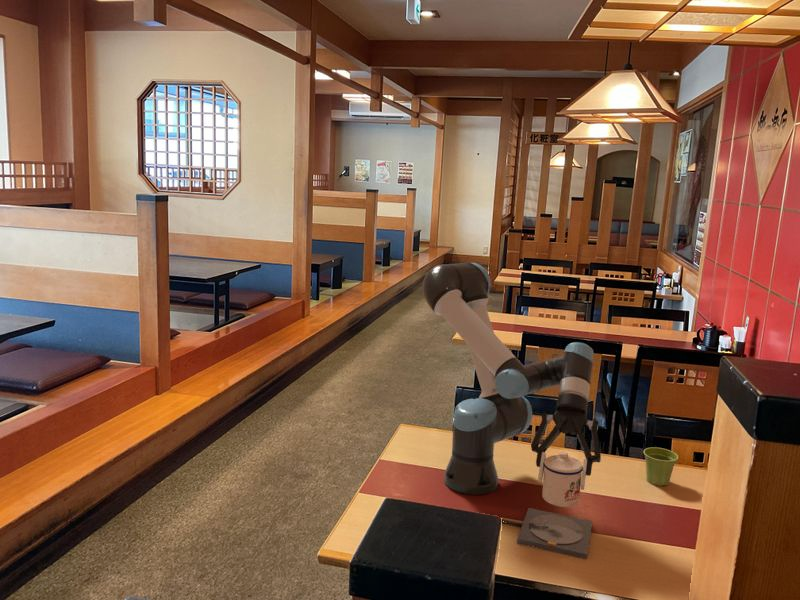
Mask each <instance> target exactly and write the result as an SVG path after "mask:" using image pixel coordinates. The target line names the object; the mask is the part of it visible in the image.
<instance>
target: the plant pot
mask: <svg viewBox="0 0 800 600" xmlns="http://www.w3.org/2000/svg"><path fill="white" fill-rule="evenodd" d="M642 454H643V455H644V458H645V471H646V475H645V477H646V480H647V482H649V483H650V484H652V485H653V486H659V487H661V486H668V485H669V484H670V480H671V477H672V474H673V470H674V466H675V464H676V463H677V461H678V460H679V455H678V454H677V453H676V452H674V451H672V450H670V449H667V448H662V447H657V446H654V447H647V448H645V449H644V450H643V453H642Z"/></svg>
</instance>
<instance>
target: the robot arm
mask: <svg viewBox="0 0 800 600" xmlns="http://www.w3.org/2000/svg"><path fill="white" fill-rule="evenodd" d="M424 275H425V276H424V278H423V280H422V293H423V296H424V299H425V301H426V303H427V305H428V306H429V307H430V309H431V310H432V312H434V313H435V314H436V315H437V316H442V317H443V318H444V319H445V320H446V322H447V323H448V324H449V325H450V326H451V327H452V329H453V330H454V331H455V332H456V333H457V334H458V336H459V337H460V338H461V339H462V340H463V341H464V342H465V344H467V346H468V350H469V354H470V356H471V360H472V362H473V363H472V364H473V366H474V370H475V372H476V376H477V380H478V382H479V386H480V389H481V393H480V395H479V397H478V398H477V397H476V398H468V399H465V400H462V401H461V402H459V403H458V404H457V405H456V406H455V408H454V415H453V417H452V423H453V425H452V446H451V448H452V450H451V456H450V459H449V460H448V461H449V462H448V464H447V466H446V469H445V471H444V477H443V478H444V479H443V480H444V484H445V485H446V487H448V488H449V489H450V490H452V491H455V492H457V493H461V494H465V495H474V496H477V495H486V494H489V493H492V492H494V491H496V489H497V488H498V483H499V476H498V472H497V468H496V465H495V462H494V461H495V460H494V449H495V444H496V443H499V442H502V441H505V440H507V439H509V438H514V437H517V436H519V435H520V434H522V433H524V432H525V431H527V430H528V429H529V427H530V425H531V423H532V420H533V409H532V405H531V404H530V401H529V400H528V399H527V398H526V397H525V396H527V395H530V394H533V393H536V392H539V391H544V390H547V389H549V388H553V387H557V386H558V387H559V388H558V393H557V394H558V397H557V400H556V407H555V411H554V413H553V414H548V413H546V412H542V413H541V422H540V424H539V427H538V428H537V430H536V433H535V435H534V437H533V439H532V442H531V444H530V448H531V451H532V452H533V453H536V460H535V464H536V467H538V468H539V471H538V475H537V477H538V478H537V479H538V482H539V483H543V478H544V465H543V463H544V460H545V459H546V458H547V455H546V451H548V449H549V448H550V446H551V445H552V444H553V443H554V441H555V440H556V439H557V438H558V437H559V436H560V435H561V434H569V435H572V436H575V435H576V437H577V440H578V442H579V444H580V447H581V449H582V452H583V455H584V457H585V458H583V462H582V467H583V470H582V473H581V486H580V490H582V491H583V490H584V491H585V487H586V486H585V484H586V477H587V476H589V477H590V476H591V475H592V470H593V469H592V468H593V465H594V463H600V462H601V460H602V457H601V456H602V455H601V450H600V447H601V446H600V442H599V434H598V430H599V421H598V420H597V419H596V420H589V419H588V417H587V414H588V408H589V407H588V406H589V399H590V398H589V397H590V390H591V378H592V374H593V367H594V364H595V363H594V354H595V353H594V349H593V348H592V347H591V346H589V345H588V344H586V343H584V342H577V341H575V342H571V343H569V344H567V346H565V349H564V350H563V352H564V353H563V354H562V355H561V354H560V355H558V356H556V357H552V358H551V357H550V358H547V359H544V360H543V359H542V360H539V361H536V362H531V363H528V364H525V365H524V364H523V363H522V362H521V361H520V360H519V359H518V358H517V357H516V356H515V354H513V352H512V351H511V350H510V349H509V348H508V346H507V345H505V344H504V342H503V341H502V340H501V339H500V338H499V337H498V335H496V333H495V332H494V329H493V326H492V322H491V319H490V317H489V313H488V309H487V304H488V303H489V301H490V300H489V299H490V298H489V296H488V295H489V293H490V291H491V289H490V288H491V287H492V282H491V277H490V274H489V273H488V271H487V269H486V268H484V266H482V265H481V264H479V263H478V262H477V263H476V262H469V261H468V262H467V261H463V262H459V263H458V262H457V263H456V262H455V263H448V264H447V263H446V264H445V263H444V264H438V265H434V267H431V268H430V269H429V270H428V271H427V272H426V274H424ZM551 421H553V423H554V424H555V425H554V426H553V428H552V430H551V431H550V432H549V434H548V435H547V437H546V438H545V439H544V440H543V441H542V439H543V436H544V435H545V431H546V430H547V427H548V425H549V424H550V423H551ZM587 426H588V429H589V431H591V437H592V438H591V439H592V440H591V441H592V445H593V446H592V447H593V452H594V454H592V452H591V450H590V448H589V445H588V442H587V440H586V438H585V435H584V432H583V429H584V428H585V427H587ZM541 441H542V443H541ZM540 443H541V444H540Z"/></svg>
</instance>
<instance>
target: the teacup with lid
mask: <svg viewBox="0 0 800 600" xmlns="http://www.w3.org/2000/svg"><path fill="white" fill-rule="evenodd" d="M543 465H544V473H543V479H542V491H541V492H542V493H541V494H542V498H543V500H544V501H545V502H546V503H548V504H550V505H552V506H556V507H562V508H569V507H574V506H576V505H578V504H579V502H580V499H581V497H580V495H581V478H582V470H583V463H582V462H580V460H579V459H576V458H574V457H572V456H569V454H568V453H567V452H566V451H560V452H559V454H557V455H550V456H548V457H547V456H546V459H545V460H544V463H543Z"/></svg>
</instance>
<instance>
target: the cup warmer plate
mask: <svg viewBox="0 0 800 600" xmlns="http://www.w3.org/2000/svg"><path fill="white" fill-rule="evenodd" d="M501 519H502V518H501ZM503 521H504V523H503V524H506V523H507V524H506V525H511V524H512V525H511V526H517V527H520V530H519V533H518V535H517V538H516V544H518V543H519V545H523V544H524V545H523V546H527V545H529V546H528V547H531V546H534V547H533V548H536V547H537V548H536V549H540V548H542V549H541V550H545V551H549V550H550V551H551V552H553V551H555V553H558V552H559V553H558V554H563V555H568V556H572V557H574V558H576V557H577V558H581V559H584V560H587V559H588V553H589V547H590V540H591V535H592V534H591V533H592V528H593V527H592V526H593V520H589V519H585V518H584V519H583V518H579V517H576V516H575V517H574V516H568V515H565V514H560V513H556V512H551V511H545V510H541V509H540V510H539V509H536V508H531V507H528V509H527V511H526V514H525V517H524V519H523V522H522V523H521V522H517V521H512V520H507V519H504V518H503V519H502V522H503ZM505 522H506V523H505Z"/></svg>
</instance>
